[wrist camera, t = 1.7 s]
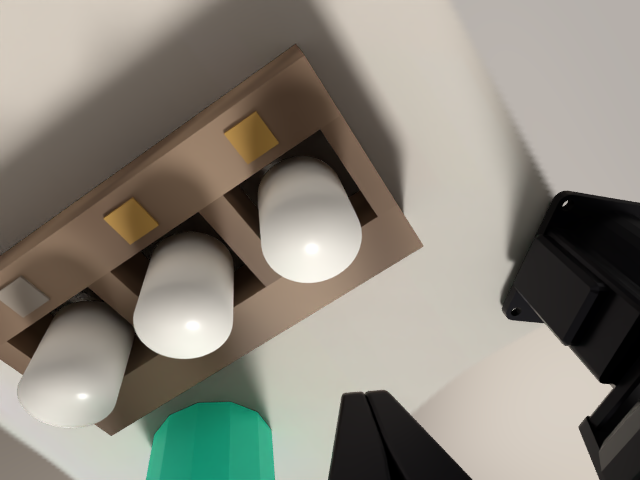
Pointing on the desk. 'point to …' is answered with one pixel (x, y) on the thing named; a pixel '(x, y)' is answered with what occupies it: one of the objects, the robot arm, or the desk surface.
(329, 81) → the desk surface
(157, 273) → the button middle
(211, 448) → the candle
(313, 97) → the button board
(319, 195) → the button near
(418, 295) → the desk surface
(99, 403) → the button far
